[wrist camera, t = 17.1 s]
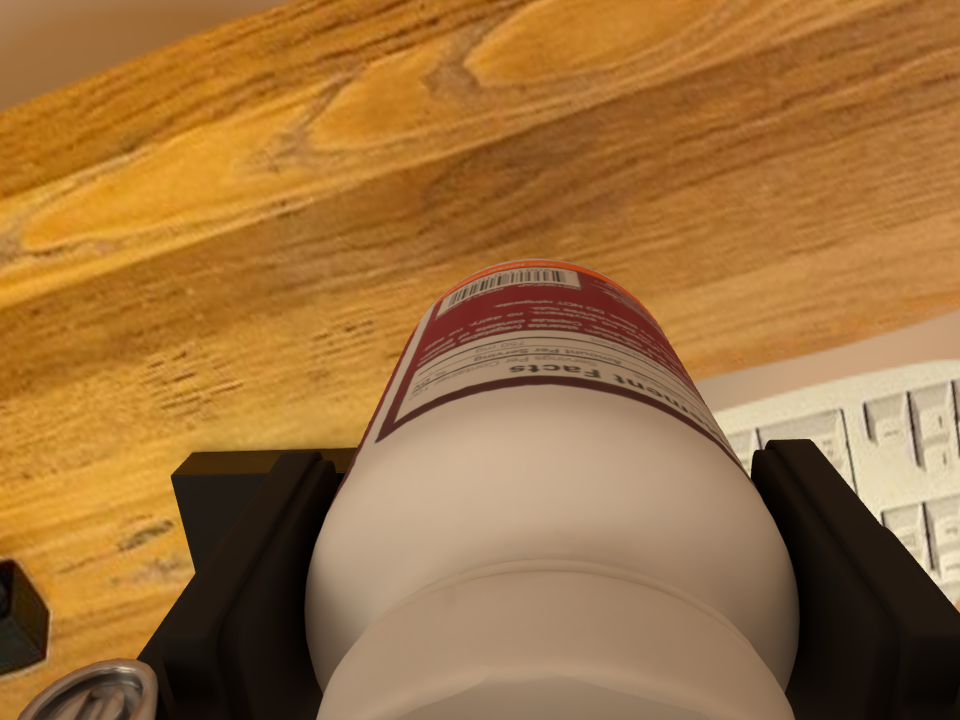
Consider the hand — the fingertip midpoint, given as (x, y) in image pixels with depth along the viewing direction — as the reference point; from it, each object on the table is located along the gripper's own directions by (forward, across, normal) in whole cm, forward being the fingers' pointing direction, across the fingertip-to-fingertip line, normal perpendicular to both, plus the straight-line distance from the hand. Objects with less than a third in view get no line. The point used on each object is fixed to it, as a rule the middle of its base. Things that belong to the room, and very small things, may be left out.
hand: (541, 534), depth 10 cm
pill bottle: (+6, 0, 0) cm, 6 cm away
